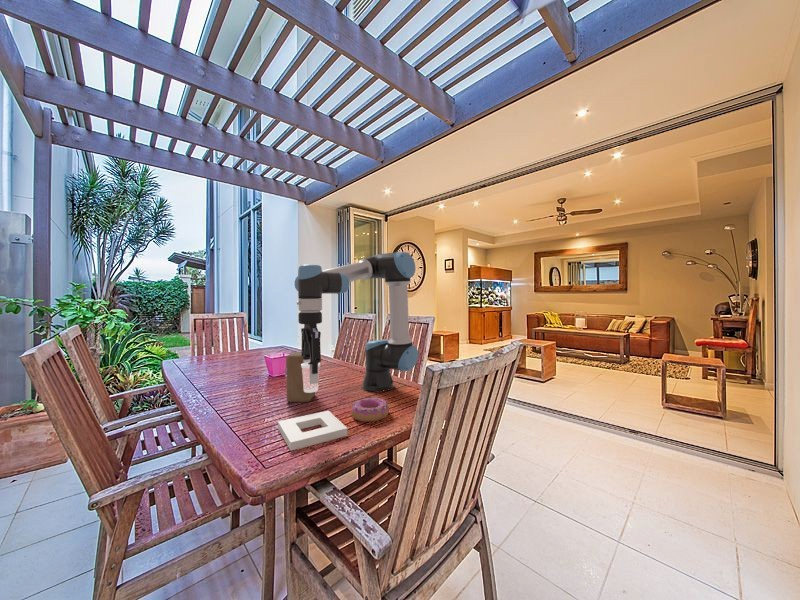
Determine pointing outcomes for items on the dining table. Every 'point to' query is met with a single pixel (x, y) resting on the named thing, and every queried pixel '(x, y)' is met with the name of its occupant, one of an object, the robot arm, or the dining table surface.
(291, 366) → the wooden block
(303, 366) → the beverage cup
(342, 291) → the robot arm
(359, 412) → the donut
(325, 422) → the socket plate
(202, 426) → the dining table surface
